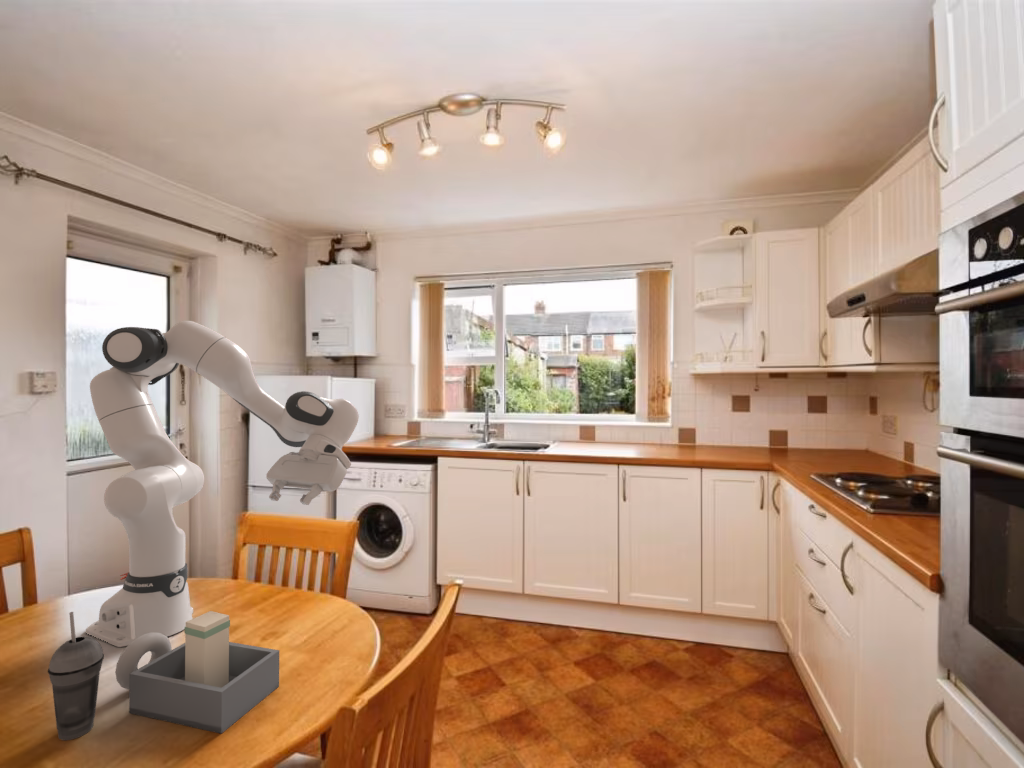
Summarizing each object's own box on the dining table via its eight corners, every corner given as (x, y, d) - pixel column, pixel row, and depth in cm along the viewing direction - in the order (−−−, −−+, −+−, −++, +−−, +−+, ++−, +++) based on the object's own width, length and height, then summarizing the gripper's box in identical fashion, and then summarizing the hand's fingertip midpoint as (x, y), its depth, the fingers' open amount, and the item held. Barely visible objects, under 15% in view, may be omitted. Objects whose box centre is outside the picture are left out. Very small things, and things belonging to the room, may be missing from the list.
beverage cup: (70, 749, 82) (71, 625, 82) (34, 742, 84) (36, 620, 84) (114, 720, 89) (115, 605, 89) (80, 714, 91) (81, 601, 91)
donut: (122, 703, 94) (123, 649, 94) (110, 698, 95) (111, 645, 95) (175, 674, 103) (176, 625, 103) (163, 670, 105) (164, 622, 105)
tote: (129, 712, 91) (129, 673, 91) (196, 670, 105) (196, 636, 105) (221, 733, 86) (221, 692, 86) (279, 686, 100) (279, 650, 100)
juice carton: (183, 698, 94) (184, 622, 94) (209, 682, 99) (210, 610, 99) (203, 705, 92) (204, 627, 92) (229, 689, 97) (230, 615, 97)
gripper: (280, 444, 130) (247, 489, 121) (345, 448, 123) (315, 497, 114) (293, 459, 134) (262, 504, 125) (357, 464, 127) (329, 513, 118)
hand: (288, 501), depth 119 cm, fingers open, 8 cm apart
